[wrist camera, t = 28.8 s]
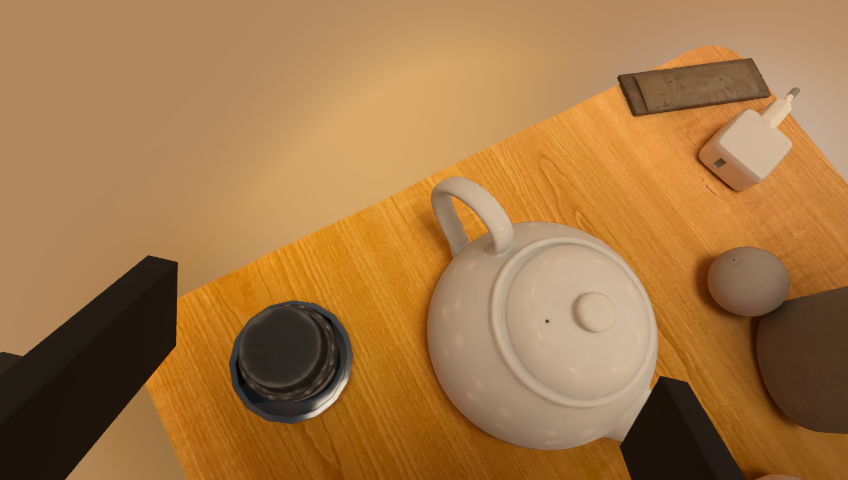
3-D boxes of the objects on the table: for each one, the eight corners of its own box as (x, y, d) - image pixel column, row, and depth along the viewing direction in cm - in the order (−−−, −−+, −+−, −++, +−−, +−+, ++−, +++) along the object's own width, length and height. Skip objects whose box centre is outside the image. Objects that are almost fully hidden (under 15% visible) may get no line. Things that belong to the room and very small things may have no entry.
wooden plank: (765, 99, 54) (745, 62, 56) (775, 92, 53) (754, 54, 54) (632, 116, 51) (615, 76, 52) (639, 109, 49) (621, 68, 51)
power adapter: (795, 129, 52) (751, 92, 53) (835, 105, 47) (785, 66, 48) (734, 198, 50) (688, 159, 51) (768, 181, 45) (717, 138, 46)
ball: (709, 301, 48) (751, 342, 42) (682, 262, 45) (723, 301, 40) (767, 264, 46) (818, 302, 41) (742, 221, 44) (794, 256, 38)
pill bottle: (267, 318, 39) (234, 287, 29) (344, 324, 40) (340, 296, 30) (254, 400, 37) (215, 398, 27) (336, 404, 38) (328, 404, 28)
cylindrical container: (360, 322, 41) (360, 309, 35) (343, 426, 38) (340, 430, 32) (261, 309, 40) (245, 293, 34) (237, 413, 38) (216, 414, 32)
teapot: (618, 242, 46) (719, 180, 33) (631, 458, 40) (759, 483, 27) (419, 220, 44) (444, 144, 31) (401, 442, 38) (423, 461, 25)
